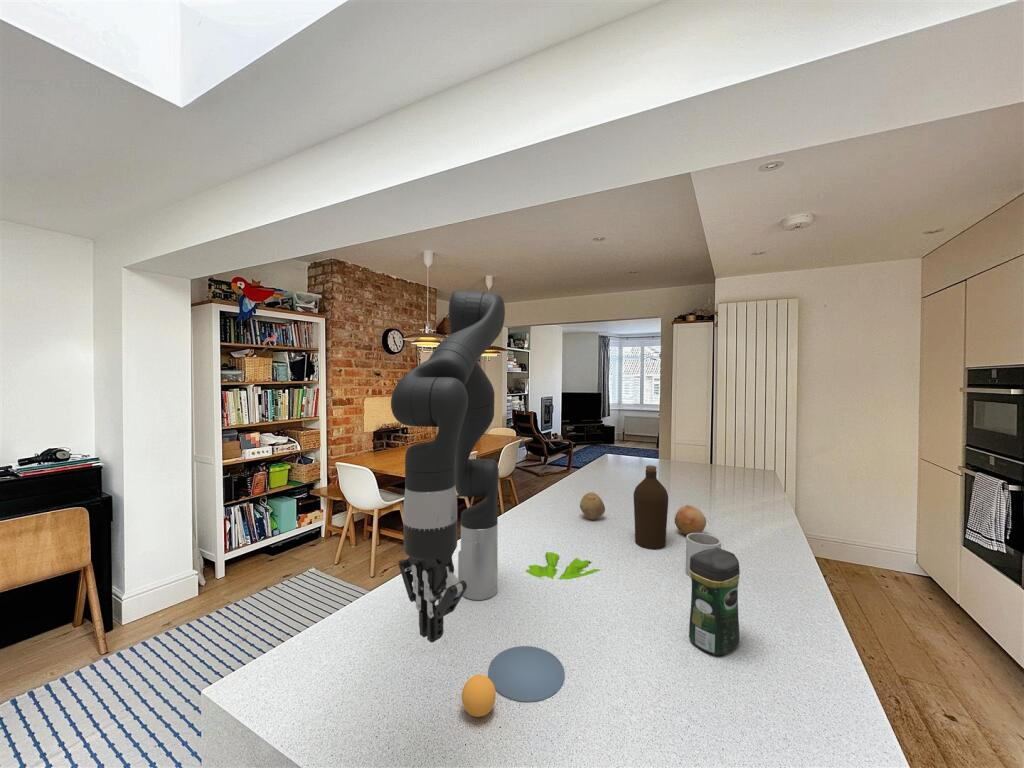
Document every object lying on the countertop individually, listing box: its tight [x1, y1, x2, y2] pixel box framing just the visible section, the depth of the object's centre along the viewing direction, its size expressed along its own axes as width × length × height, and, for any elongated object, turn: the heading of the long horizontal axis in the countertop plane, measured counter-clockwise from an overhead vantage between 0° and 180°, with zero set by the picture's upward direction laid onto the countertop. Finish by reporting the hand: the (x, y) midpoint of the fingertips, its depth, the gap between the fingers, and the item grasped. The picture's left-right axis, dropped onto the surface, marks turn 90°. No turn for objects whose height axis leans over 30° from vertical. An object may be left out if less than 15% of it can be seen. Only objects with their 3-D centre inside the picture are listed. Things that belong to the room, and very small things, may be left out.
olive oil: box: [633, 465, 669, 550], centre depth 134 cm, size 11×11×25 cm
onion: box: [674, 504, 707, 536], centre depth 141 cm, size 10×10×10 cm
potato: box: [579, 492, 606, 521], centre depth 156 cm, size 9×9×10 cm
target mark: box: [487, 645, 566, 703], centre depth 76 cm, size 14×14×1 cm
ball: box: [461, 674, 497, 718], centre depth 67 cm, size 6×6×6 cm
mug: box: [685, 532, 722, 579], centre depth 114 cm, size 12×9×10 cm
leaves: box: [525, 551, 602, 580], centre depth 119 cm, size 20×22×2 cm
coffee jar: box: [688, 547, 741, 656], centre depth 85 cm, size 10×8×19 cm
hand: (431, 636), depth 60 cm, fingers closed
